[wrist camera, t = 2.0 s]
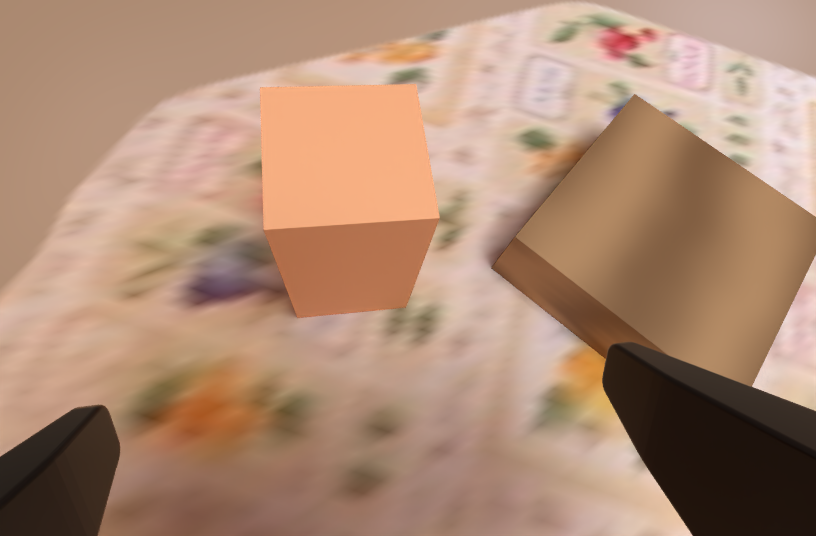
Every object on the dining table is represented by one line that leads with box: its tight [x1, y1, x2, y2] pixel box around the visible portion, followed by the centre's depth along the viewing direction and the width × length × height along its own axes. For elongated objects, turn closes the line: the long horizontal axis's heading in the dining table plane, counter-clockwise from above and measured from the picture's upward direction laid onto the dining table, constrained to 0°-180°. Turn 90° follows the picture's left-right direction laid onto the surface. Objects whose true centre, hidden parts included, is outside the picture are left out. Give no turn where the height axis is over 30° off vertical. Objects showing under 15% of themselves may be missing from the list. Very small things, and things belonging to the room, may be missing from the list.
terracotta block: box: [260, 84, 440, 318], centre depth 18 cm, size 5×5×9 cm
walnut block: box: [492, 94, 816, 387], centre depth 23 cm, size 11×11×4 cm
